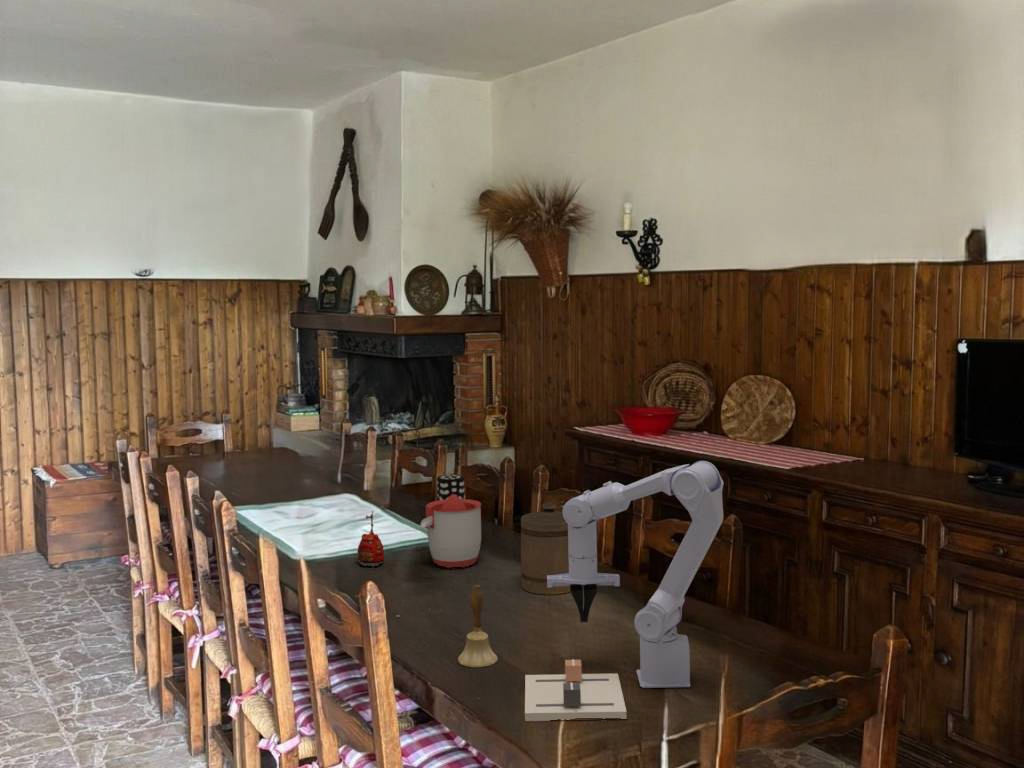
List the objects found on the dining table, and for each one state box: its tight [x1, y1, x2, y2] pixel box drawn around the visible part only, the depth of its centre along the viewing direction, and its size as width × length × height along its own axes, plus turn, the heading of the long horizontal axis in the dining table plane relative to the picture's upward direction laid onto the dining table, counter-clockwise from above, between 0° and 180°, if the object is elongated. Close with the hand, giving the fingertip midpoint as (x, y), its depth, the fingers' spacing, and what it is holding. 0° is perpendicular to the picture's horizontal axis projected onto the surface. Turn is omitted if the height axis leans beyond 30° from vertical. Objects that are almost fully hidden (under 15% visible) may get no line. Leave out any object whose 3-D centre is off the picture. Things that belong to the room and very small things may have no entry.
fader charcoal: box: [563, 683, 581, 706], centre depth 173 cm, size 3×3×3 cm
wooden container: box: [520, 501, 571, 596], centre depth 247 cm, size 15×15×22 cm
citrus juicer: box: [420, 494, 482, 568], centre depth 270 cm, size 16×17×20 cm
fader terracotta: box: [564, 658, 583, 681], centre depth 184 cm, size 3×3×3 cm
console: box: [524, 672, 628, 722], centre depth 179 cm, size 18×17×2 cm
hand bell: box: [457, 584, 499, 668], centre depth 199 cm, size 8×8×16 cm
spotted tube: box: [436, 474, 466, 501], centre depth 294 cm, size 8×8×20 cm
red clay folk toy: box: [357, 510, 385, 563], centre depth 271 cm, size 8×7×15 cm
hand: (583, 620), depth 194 cm, fingers closed
